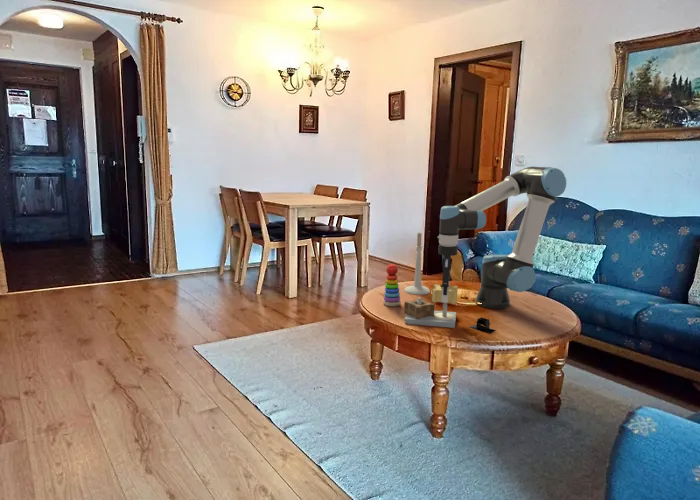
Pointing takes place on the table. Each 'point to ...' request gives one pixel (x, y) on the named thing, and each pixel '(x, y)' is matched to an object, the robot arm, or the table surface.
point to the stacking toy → (392, 287)
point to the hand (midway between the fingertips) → (445, 299)
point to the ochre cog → (438, 293)
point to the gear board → (434, 318)
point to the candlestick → (418, 273)
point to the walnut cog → (419, 309)
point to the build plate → (483, 328)
